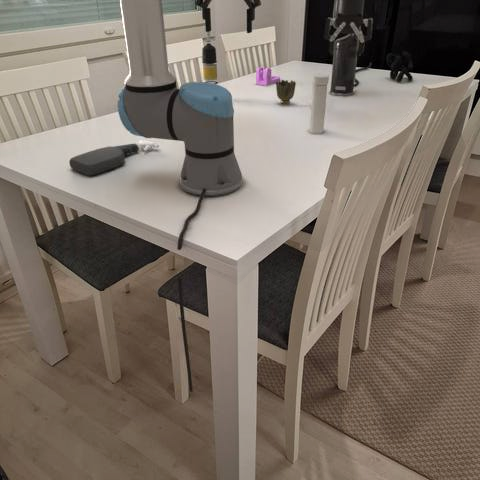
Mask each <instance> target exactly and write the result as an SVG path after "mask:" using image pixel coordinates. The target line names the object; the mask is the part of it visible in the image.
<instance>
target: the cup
mask: <svg viewBox="0 0 480 480" xmlns="http://www.w3.org/2000/svg"><path fill="white" fill-rule="evenodd" d="M296 85H297V82H296V80H294V81H293V80H291V81H290V82H289V80H288V79H287V80H286V79H285V80H284V79H282V80H280V81H278V82H276V83H275V88H276V96H277V98H278V99H279V100H280V101H279V102H280V105H284V106H285V105H289V104H290V103H291V100H292V99H293V98H294V95H295V91H296Z"/></svg>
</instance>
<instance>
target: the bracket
mask: <svg viewBox="0 0 480 480" xmlns="http://www.w3.org/2000/svg"><path fill="white" fill-rule="evenodd" d="M279 81H280V82H281V76H278V75H272V68H270V67H265V68H264V67H262V66H258V67H257V68H256V70H255V84H256V85H260V86H265V87H266V86H269V85H273V84H276V82H278V83H279Z"/></svg>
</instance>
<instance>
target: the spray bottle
mask: <svg viewBox="0 0 480 480" xmlns="http://www.w3.org/2000/svg"><path fill="white" fill-rule="evenodd" d="M159 148H160V145H159V144H158V143H155V142H151V141H148V140H144V139H139V140H138V141H137V142H135V143H129V144H128V143H126V144H122V145H113V146H105V147H100V148H97V149H94V150H90V151H87V152H83V153H81V154H78V155H74V156H73V157H70V159H69V161H68V162H69V167H70V168H71V169H72V170H74V171H75V172H78V173H81V174H83V175H85V176H89V177H90V176H91V177H92V176H95V175H99V174H102V173H105V172H107V171H110V170H113V169H116V168H118V167H120V166H122V165H123V164H124V163H125V158H126V156H127V155H131V154H133V153H138V151H140V150H143V151H144V152H146V151H147V150H149V149H159Z"/></svg>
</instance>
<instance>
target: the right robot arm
mask: <svg viewBox="0 0 480 480" xmlns="http://www.w3.org/2000/svg"><path fill="white" fill-rule="evenodd" d="M333 3H334V4H333V12H332V17H327V18H326V20H325V26H324V34H323V39H324V40H328V41H329V47H328V52H329V53H330V55H332V69H331V77H330V78H331V80H330V90H329V94H331V95H334V96H337V97H345V96H346V97H347V96H351V95H354V92H355V91H354V89H355V87H356V86H358V85H359V84H360V81H359V80H358V79H357V78H356V73H357V72H361V71H364V70H368V69H370V68H371V67H372V65H373V64H372V62H369V63H368V64H369V65H368V66H365V67H360V68H357V62H358V56H359V57H360V56H361V55H363V54H364V52H365V46H366V45H365V43H366V42H368V41H371V39H372V37H373V24H374V19H373V17H369V18H364V17H363V16H364V7H365V0H334V2H333ZM363 24H364V27H366V35H364V33H363V31H362V30H361V28H362V25H363ZM332 26H333V28H334V29H336V30H334V32H333V34H332V35H331V34H330V33H331V27H332ZM340 33H341V34H342V35H345V36H342V37H340V38H337V37H338V36H339V35H340ZM346 34H347V35H346ZM336 38H337V39H336Z"/></svg>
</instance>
